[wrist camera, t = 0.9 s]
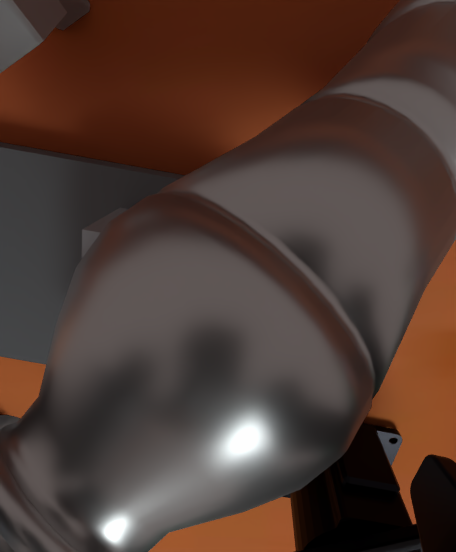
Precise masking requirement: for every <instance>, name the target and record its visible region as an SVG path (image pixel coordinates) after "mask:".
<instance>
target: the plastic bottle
mask: <svg viewBox="0 0 456 552" xmlns="http://www.w3.org/2000/svg"><path fill="white" fill-rule="evenodd" d="M455 239H456V0H400V1H399V2H398V3H397V4H396V5H395V7H394V8H393V9H392V10H391V11H390V12H389V13H388V15H387V16H386V17H385V18H384V20H383V21H382V22H381V23H380V24H379V26H378V27H377V28H376V29H375V31H374V32H373V34H372V35H371V37H370V38H369V40H368V41H367V43H366V45H365V46H364V47H363V48H362V49H361V50H360V51H359V52H358V53H357V54H356V55H355V56H354V57H353V58H352V59H351V60H350V61H349V62H348V63H347V64H346V65H345V66H344V67H343V68H342V69H341V70H340V71H339V72H338V73H337V74H336V75H335V76H334V77H333V78H332V80H331V81H330V82H329V83H328V84H327V85H326V86H325V87H324V88H323V89H321V90H320V91H319V92H317V93H316V94H314V95H313V96H311V97H310V98H309V99H308V100H306V101H305V102H304V103H302V104H301V105H300V106H298V107H296V108H295V109H293V110H292V111H290V112H289V113H288V114H286V115H285V116H284V117H282V118H281V119H279V120H278V121H277V122H275V123H274V124H272V125H271V126H270V127H268V128H267V129H265V130H264V131H263V132H261V133H260V134H258V135H257V136H256V137H254V138H252V139H250V140H248V141H247V142H245V143H243V144H241V145H239V146H238V147H236V148H234V149H232V150H230V151H229V152H227V153H225V154H223V155H221V156H220V157H218V158H216V159H214V160H212V161H211V162H209V163H207V164H205V165H203V166H202V167H200V168H198V169H196V170H194V171H192V172H191V173H189V174H187V175H185V176H183V177H182V178H180V179H178V180H176V181H174V182H173V183H171V184H169V185H167V186H165V187H164V188H162V189H161V190H160V191H159V192H158V193H157V194H154V195H150V196H147V197H145V198H144V199H142V200H141V201H139V202H138V203H136V204H135V205H133V206H132V207H131V208H129V209H128V210H126V211H125V212H123V213H121V214H120V215H118V216H117V217H115V218H114V219H112V220H111V221H109V222H108V224H107V225H106V226H105V228H104V229H103V230H102V232H101V233H100V234H99V236H98V237H97V239H96V240H95V241H94V243H93V244H92V246H91V247H90V248H89V250H88V251H87V253H86V254H85V255H84V257H83V258H82V260H81V261H80V262H79V264H78V265H77V266H76V269H75V272H74V274H73V277H72V280H71V283H70V286H69V289H68V291H67V294H66V297H65V300H64V303H63V306H62V308H61V311H60V314H59V317H58V320H57V323H56V327H55V331H54V335H53V339H52V343H51V347H50V352H49V356H48V360H47V364H46V368H45V372H44V376H43V380H42V385H41V389H40V393H39V397H38V398H37V399H36V400H35V401H34V403H33V404H32V405H31V406H30V408H29V409H28V410H27V411H26V413H25V414H24V415H23V416H22V418H21V419H20V418H18V417H14V416H10V415H0V552H148V551H149V550H150V549H151V548H153V547H154V546H155V545H156V544H157V543H158V542H159V541H160V540H161V539H162V538H163V537H164V536H165V535H167V534H168V533H169V532H172V531H176V530H179V529H183V528H187V527H190V526H194V525H198V524H201V523H205V522H209V521H212V520H216V519H220V518H223V517H227V516H231V515H234V514H238V513H242V512H245V511H247V510H250V509H252V508H255V507H257V506H260V505H262V504H265V503H267V502H270V501H272V500H275V499H277V498H280V497H282V496H285V495H287V494H290V493H292V492H295V491H298V490H300V489H302V488H303V487H304V486H305V485H307V484H308V483H309V482H311V481H312V480H313V479H314V478H316V477H317V476H318V475H319V474H321V473H322V472H323V471H324V470H326V469H327V468H328V467H329V466H331V465H332V464H333V463H334V462H336V461H337V460H338V459H339V458H341V457H342V456H343V455H344V453H345V452H346V451H347V450H348V448H349V446H350V444H351V442H352V440H353V439H354V437H355V435H356V433H357V431H358V429H359V428H360V426H361V424H362V423H363V421H364V419H365V417H366V416H367V414H368V412H369V411H370V409H371V407H372V399H373V398H374V396H375V395H376V393H377V392H378V391H379V389H380V386H381V384H382V382H383V380H384V378H385V375H386V373H387V371H388V369H389V367H390V365H391V362H392V360H393V358H394V356H395V354H396V351H397V349H398V347H399V345H400V343H401V340H402V338H403V336H404V334H405V332H406V330H407V327H408V325H409V323H410V321H411V319H412V316H413V314H414V312H415V310H416V308H417V305H418V303H419V301H420V299H421V297H422V295H423V292H424V290H425V288H426V287H427V285H428V283H429V282H430V280H431V278H432V277H433V275H434V274H435V272H436V270H437V269H438V267H439V265H440V264H441V262H442V261H443V259H444V257H445V256H446V254H447V252H448V251H449V249H450V247H451V246H452V244H453V243H454V241H455Z"/></svg>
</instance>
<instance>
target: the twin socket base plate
mask: <svg viewBox="0 0 456 552" xmlns="http://www.w3.org/2000/svg"><path fill="white" fill-rule="evenodd" d="M183 176H185V175H180V174H174V173H169V172H163V171H158V170H152V169H147V168H141V167H135V166H130V165H124V164H119V163H113V162H108V161H102V160H97V159H91V158H86V157H80V156H74V155H69V154H63V153H58V152H52V151H47V150H41V149H36V148H30V147H24V146H19V145H13V144H8V143H2V142H0V356H1V357H7V358H13V359H18V360H24V361H29V362H35V363H41V364H47V360H48V356H49V352H50V347H51V343H52V339H53V335H54V331H55V327H56V323H57V320H58V317H59V314H60V311H61V308H62V306H63V303H64V300H65V297H66V294H67V291H68V289H69V286H70V283H71V280H72V277H73V274H74V272H75V269H76V266H77V265H78V264H79V262H80V261H81V260H82V258H83V257H84V255H85V254H86V253H87V251H88V250H89V248H90V247H91V246H92V244H93V243H94V241H95V240H96V239H97V237H98V236H99V234H100V233H101V232H102V230H103V229H104V228H105V226H106V225H107V224H108V222H109V221H111V220H112V219H114V218H115V217H117V216H118V215H120V214H121V213H123V212H125V211H126V210H128V209H129V208H131V207H132V206H133V205H135V204H136V203H138V202H139V201H141V200H142V199H144V198H145V197H147V196H150V195H154V194H157V193H158V192H159V191H160V190H161V189H162V188H164V187H165V186H167V185H169V184H171V183H173V182H174V181H176V180H178V179H180V178H182V177H183Z"/></svg>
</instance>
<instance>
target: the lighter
mask: <svg viewBox="0 0 456 552" xmlns="http://www.w3.org/2000/svg"><path fill="white" fill-rule="evenodd" d="M89 10H90V3H89V1H88V0H0V73H1V72H3V71H4V70H5V69H7V68H8V67H9V66H11V65H12V64H13V63H15V62H16V61H18V60H19V59H20V58H22V57H23V56H24V55H26V54H27V53H29V52H30V51H31V50H33V49H34V48H35V47H37V46H38V45H39V44H40V43H42V42H43V41H44V40H45V39H46V38H47V36H48V35H49V34H50V33H51V32H52V30H53V29H54V28H55V27H56V28H58V29H61V30H64V29H66V28H67V27H69V26H70V25H71V24H73V23H74V22H75V21H77V20H78V19H79V18H81V17H82V16H84V15H85V14H86V13H88V12H89Z"/></svg>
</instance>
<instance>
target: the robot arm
mask: <svg viewBox="0 0 456 552" xmlns="http://www.w3.org/2000/svg"><path fill="white" fill-rule="evenodd" d="M392 437H394V438H393V439H390V438H392ZM401 443H402V437H401V435H400V433H399V432H398V431H397V430H395V429H390V428H385V427H379V426H374V425H368V424H361V426H360V428H359V429H358V431H357V433H356V435H355V437H354V439H353V440H352V442H351V444H350V446H349V448H348V450H347V451H346V452H345V453H344V455H343V456H342V457H341V458H339V459H338V460H337V461H336V462H334V463H333V464H332V465H331V466H329V467H328V468H327V469H326V470H324V471H323V472H322V473H321V474H319V475H318V476H317V477H316V478H314V479H313V480H312V481H311V482H309V483H308V484H307V485H305V486H304V487H303V488H302V489H300V490H298V491H295V492H292V493H290V494H287V495H285V496H282V497H288V498H291V508H292V518H293V528H294V538H295V547H296V551H295V552H456V463H455V462H454V461H453V460H451V459H449V458H446V457H441V456H437V455H428V456H426V457H425V459H424V460H423V462H422V464H421V466H420V468H419V469H418V471H417V473H416V475H415V477H414V479H413V481H412V483H411V488H410V494H411V500H412V504H413V509H414V514H415V518H416V523H417V524H412V522H411V519H410V517H409V514H408V512H407V509H406V507H405V504H404V502H403V499H402V497H401V494H400V492H399V491H400V487H399V484H398V482H397V479H396V477H395V474H394V472H393V470H392V467H391V465H392V463H393V461H394V459H395V456H396V454H397V452H398V450H399V448H400V445H401Z"/></svg>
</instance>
